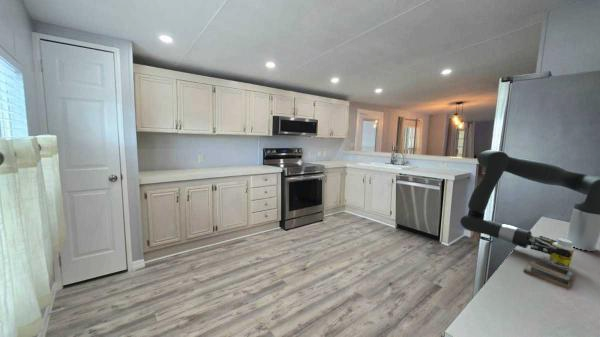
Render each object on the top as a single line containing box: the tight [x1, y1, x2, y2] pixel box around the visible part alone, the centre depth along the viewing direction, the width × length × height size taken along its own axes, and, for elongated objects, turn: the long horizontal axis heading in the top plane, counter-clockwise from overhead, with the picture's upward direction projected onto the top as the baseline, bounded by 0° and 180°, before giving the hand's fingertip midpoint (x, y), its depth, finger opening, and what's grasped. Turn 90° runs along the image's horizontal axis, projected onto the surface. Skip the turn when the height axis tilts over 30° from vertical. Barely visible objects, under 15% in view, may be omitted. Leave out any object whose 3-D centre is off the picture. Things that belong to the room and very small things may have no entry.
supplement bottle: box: [548, 237, 575, 269], centre depth 92 cm, size 6×6×10 cm
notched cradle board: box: [523, 258, 576, 290], centre depth 85 cm, size 12×11×2 cm
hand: (571, 253), depth 90 cm, fingers closed on supplement bottle, 5 cm apart
